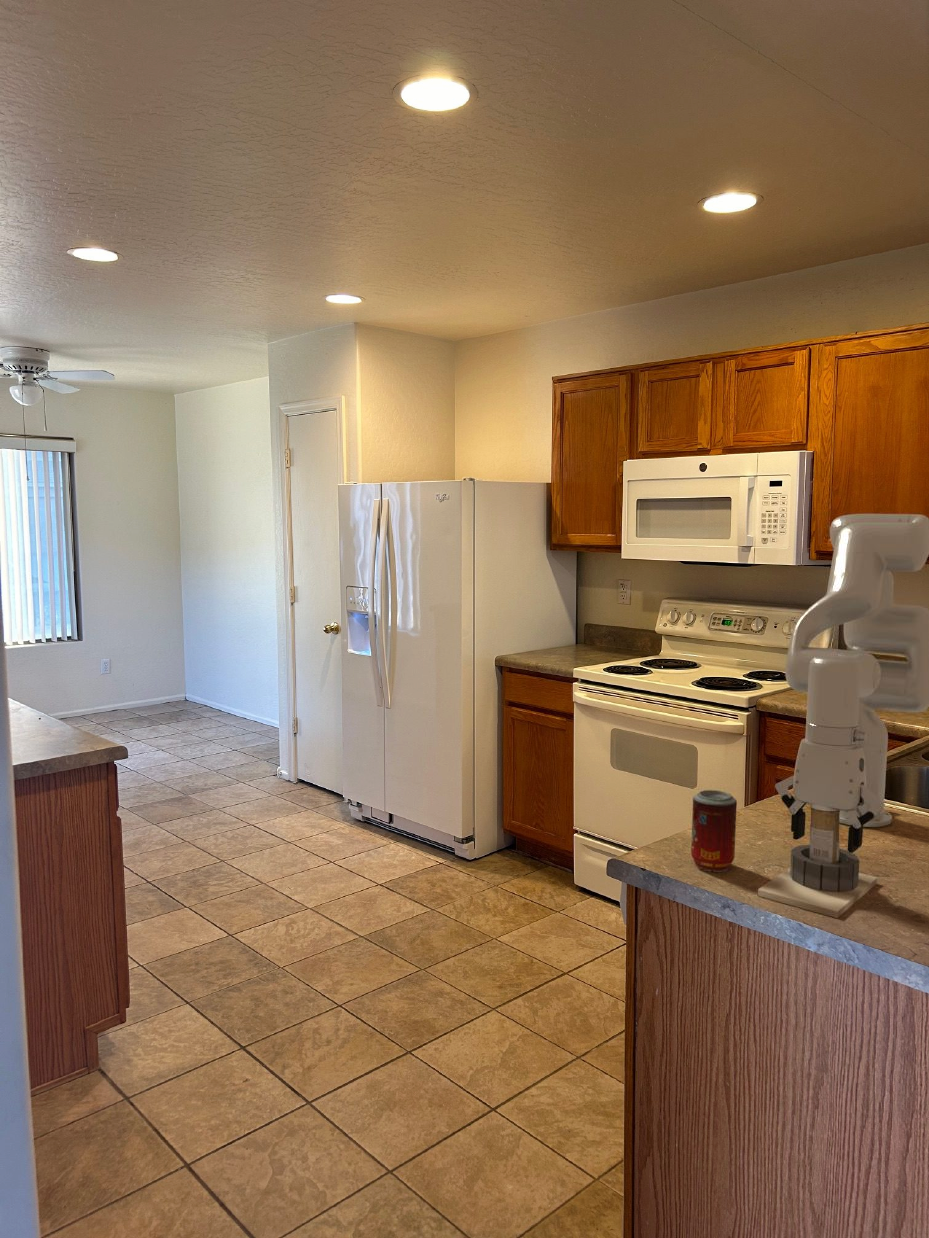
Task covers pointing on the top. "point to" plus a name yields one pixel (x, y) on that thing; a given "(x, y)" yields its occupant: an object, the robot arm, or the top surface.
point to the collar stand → (819, 883)
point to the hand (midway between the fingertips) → (825, 843)
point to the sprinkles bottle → (824, 834)
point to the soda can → (713, 830)
